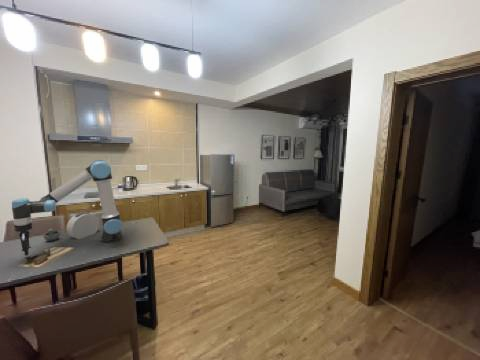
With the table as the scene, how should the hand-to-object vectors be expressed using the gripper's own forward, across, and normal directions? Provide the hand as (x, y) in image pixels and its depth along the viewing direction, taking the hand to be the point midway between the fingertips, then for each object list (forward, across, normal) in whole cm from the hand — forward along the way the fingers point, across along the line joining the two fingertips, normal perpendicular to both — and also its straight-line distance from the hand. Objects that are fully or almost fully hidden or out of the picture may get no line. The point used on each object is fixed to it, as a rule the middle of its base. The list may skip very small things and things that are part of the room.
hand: (27, 259), depth 132 cm
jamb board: (+3, 0, +10) cm, 10 cm away
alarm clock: (+3, -30, +31) cm, 44 cm away
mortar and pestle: (+3, -31, +11) cm, 33 cm away
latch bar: (+1, 0, +5) cm, 5 cm away
